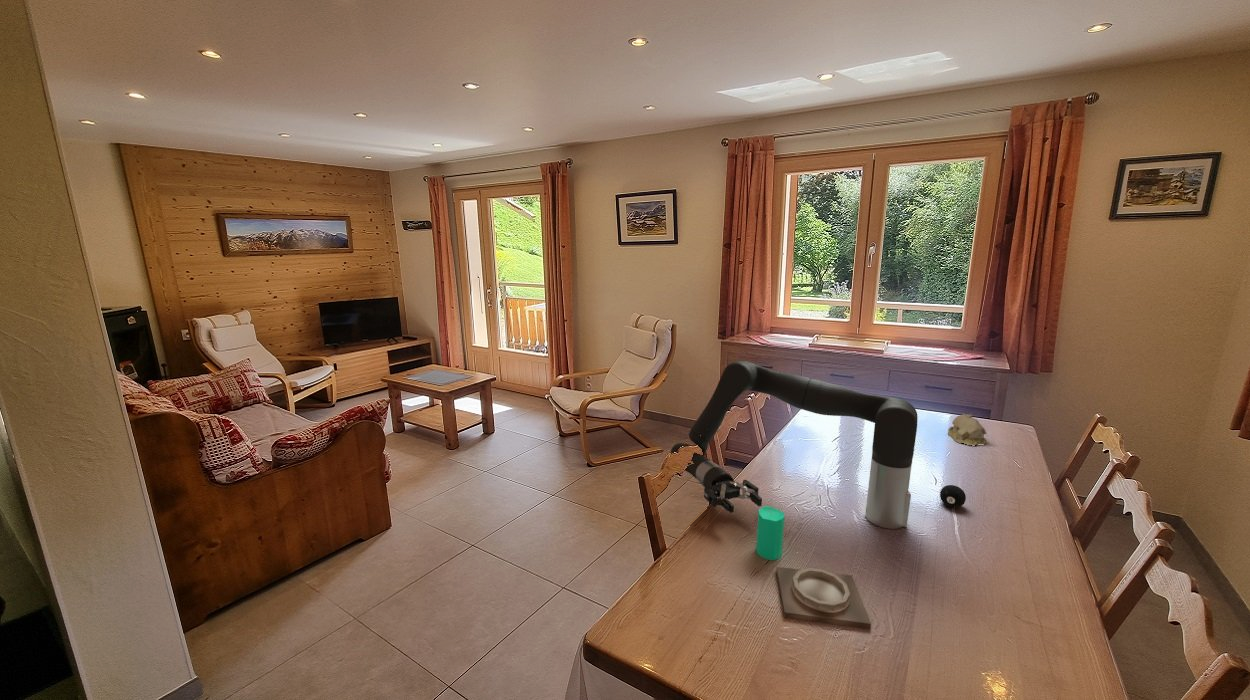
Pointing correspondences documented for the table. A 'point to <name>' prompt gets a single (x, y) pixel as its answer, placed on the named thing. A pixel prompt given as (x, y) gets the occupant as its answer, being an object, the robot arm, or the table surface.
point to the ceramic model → (967, 430)
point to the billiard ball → (952, 496)
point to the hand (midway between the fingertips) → (746, 506)
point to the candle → (770, 533)
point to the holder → (821, 597)
